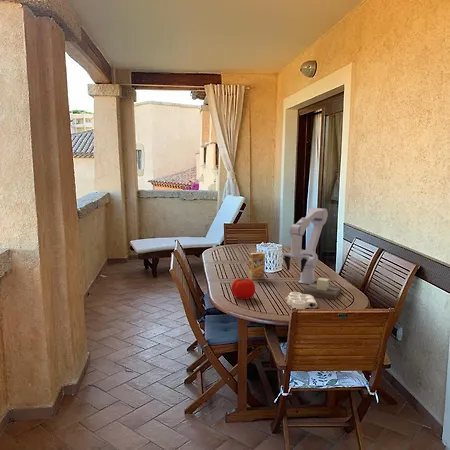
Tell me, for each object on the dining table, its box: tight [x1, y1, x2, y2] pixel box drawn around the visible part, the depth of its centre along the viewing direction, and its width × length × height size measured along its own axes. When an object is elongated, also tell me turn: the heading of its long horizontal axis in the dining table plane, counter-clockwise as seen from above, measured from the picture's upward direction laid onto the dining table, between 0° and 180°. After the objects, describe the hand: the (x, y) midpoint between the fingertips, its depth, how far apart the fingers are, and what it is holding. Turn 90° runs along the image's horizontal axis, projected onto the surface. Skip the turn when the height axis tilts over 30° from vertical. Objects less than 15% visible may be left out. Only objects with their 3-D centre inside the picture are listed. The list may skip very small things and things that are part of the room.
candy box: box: [247, 251, 266, 281], centre depth 240 cm, size 9×4×15 cm, turn 115°
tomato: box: [231, 276, 256, 300], centre depth 204 cm, size 12×12×10 cm
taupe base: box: [302, 282, 342, 301], centre depth 215 cm, size 16×16×2 cm
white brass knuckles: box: [284, 291, 318, 310], centre depth 198 cm, size 3×18×15 cm
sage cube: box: [316, 277, 330, 291], centre depth 215 cm, size 5×5×5 cm
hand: (295, 270), depth 223 cm, fingers open, 7 cm apart
